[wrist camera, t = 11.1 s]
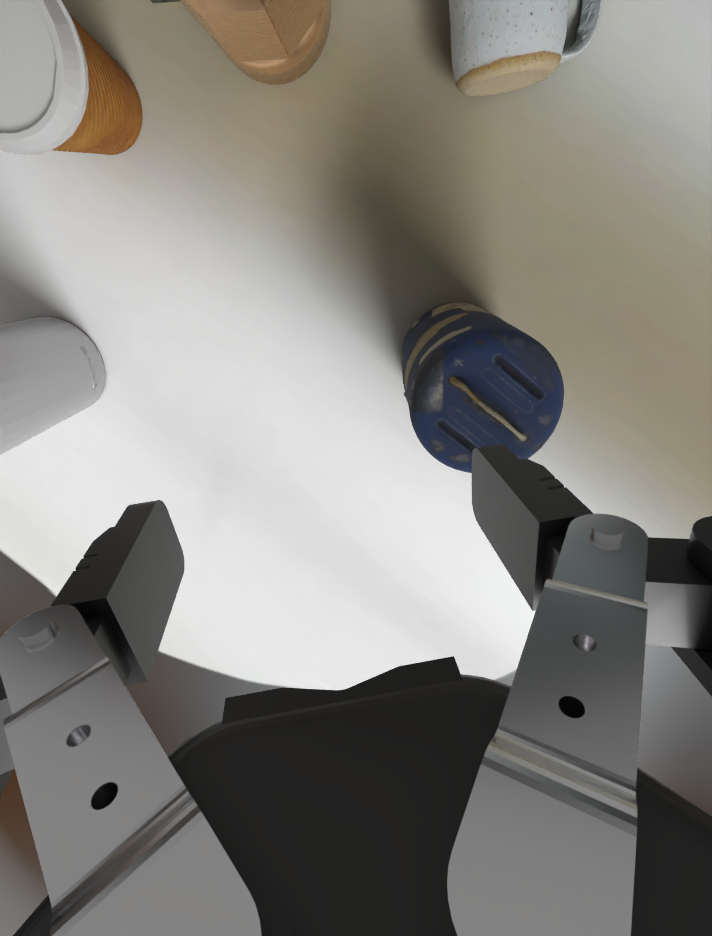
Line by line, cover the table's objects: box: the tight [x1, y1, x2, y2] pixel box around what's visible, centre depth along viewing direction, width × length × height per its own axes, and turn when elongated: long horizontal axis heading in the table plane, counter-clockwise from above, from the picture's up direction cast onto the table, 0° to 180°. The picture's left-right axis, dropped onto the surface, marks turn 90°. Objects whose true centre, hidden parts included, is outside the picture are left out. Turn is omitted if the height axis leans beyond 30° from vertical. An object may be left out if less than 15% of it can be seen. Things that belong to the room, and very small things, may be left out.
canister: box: [401, 302, 564, 473], centre depth 35 cm, size 10×10×18 cm
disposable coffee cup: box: [0, 0, 142, 155], centre depth 31 cm, size 10×10×12 cm
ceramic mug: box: [449, 0, 603, 96], centre depth 30 cm, size 11×8×8 cm
